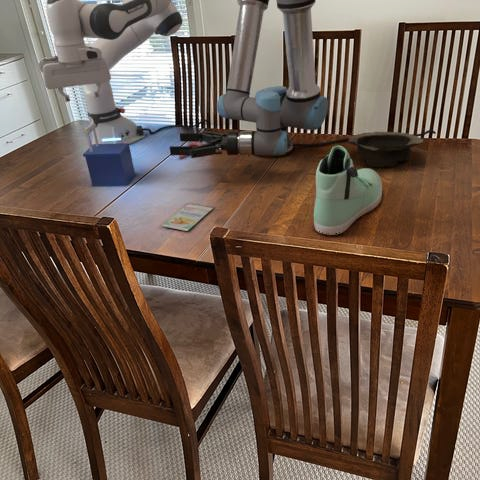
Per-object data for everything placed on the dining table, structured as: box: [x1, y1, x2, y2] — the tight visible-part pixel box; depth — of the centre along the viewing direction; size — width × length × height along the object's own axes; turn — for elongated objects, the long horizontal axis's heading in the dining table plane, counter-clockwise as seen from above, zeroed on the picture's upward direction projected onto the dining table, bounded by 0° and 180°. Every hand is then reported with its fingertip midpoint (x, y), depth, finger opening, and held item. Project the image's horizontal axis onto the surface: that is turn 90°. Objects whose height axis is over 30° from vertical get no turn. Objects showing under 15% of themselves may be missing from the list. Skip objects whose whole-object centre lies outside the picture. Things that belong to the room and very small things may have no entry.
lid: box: [82, 123, 130, 158], centre depth 161 cm, size 13×10×9 cm
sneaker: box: [313, 145, 383, 236], centre depth 133 cm, size 14×35×20 cm, turn 152°
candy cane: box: [177, 141, 203, 159], centre depth 187 cm, size 6×15×2 cm, turn 145°
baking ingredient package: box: [160, 203, 214, 232], centre depth 141 cm, size 9×1×15 cm
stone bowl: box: [347, 131, 425, 168], centre depth 166 cm, size 25×25×9 cm
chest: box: [84, 146, 136, 187], centre depth 166 cm, size 12×10×11 cm
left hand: (82, 99), depth 155 cm, fingers open, 8 cm apart
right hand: (175, 143), depth 158 cm, fingers open, 13 cm apart
